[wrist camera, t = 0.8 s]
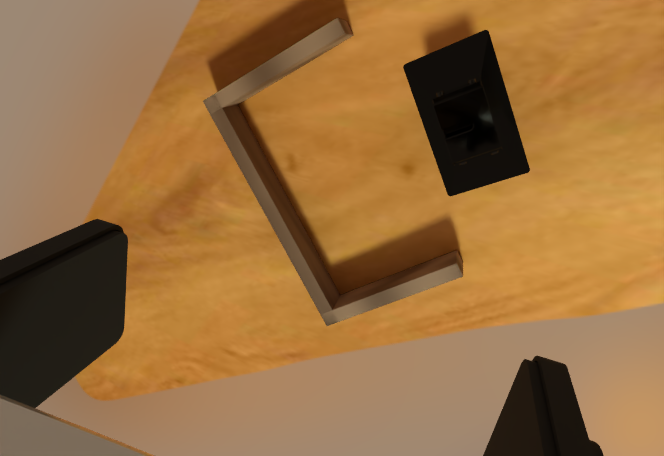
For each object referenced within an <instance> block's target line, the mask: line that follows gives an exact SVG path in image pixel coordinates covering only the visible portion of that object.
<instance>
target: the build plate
mask: <svg viewBox="0 0 664 456" xmlns="http://www.w3.org/2000/svg"><path fill="white" fill-rule="evenodd" d="M403 68H404V71H405V74H406V77H407V79H408V82H409V85H410V88H411V91H412V94H413V97H414V99H415V102H416V105H417V108H418V111H419V114H420V117H421V119H422V122H423V125H424V128H425V131H426V134H427V137H428V139H429V142H430V145H431V148H432V151H433V154H434V157H435V159H436V162H437V165H438V168H439V171H440V174H441V177H442V179H443V182H444V185H445V188H446V191H447V194H448V195H449V196H453V195H457V194H460V193H463V192H466V191H470V190H473V189H476V188H479V187H483V186H486V185H489V184H492V183H496V182H499V181H502V180H505V179H509V178H512V177H515V176H518V175H522V174H525V173H528V172H529V171H530V168H529V165H528V162H527V158H526V155H525V152H524V148H523V145H522V142H521V138H520V135H519V131H518V128H517V125H516V121H515V118H514V115H513V111H512V108H511V105H510V101H509V98H508V95H507V91H506V88H505V85H504V81H503V78H502V75H501V71H500V68H499V65H498V61H497V58H496V55H495V51H494V48H493V44H492V41H491V38H490V34H489V32H488V30H484V31H482V32H479V33H477V34H474V35H472V36H470V37H467V38H465V39H463V40H460V41H458V42H456V43H453V44H451V45H449V46H446V47H444V48H442V49H439V50H437V51H435V52H432V53H430V54H428V55H425V56H423V57H421V58H418V59H416V60H414V61H411V62H409V63H407V64H405V65H404V67H403Z"/></svg>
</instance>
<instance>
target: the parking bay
mask: <svg viewBox="0 0 664 456" xmlns="http://www.w3.org/2000/svg"><path fill="white" fill-rule="evenodd" d="M352 36H354V35H353V33H352V31H351V29H350V27H349V25H348V23H347V21H345V20H343V19H340V18H336V19H334V20H333V21H331V22H330V23H328V24H326V25H325V26H323V27H321V28H320V29H318V30H317V31H315V32H313V33H312V34H310V35H309V36H307V37H305V38H304V39H302V40H301V41H299V42H297V43H296V44H294V45H292V46H291V47H289V48H288V49H286V50H284V51H283V52H281V53H280V54H278V55H276V56H275V57H273V58H272V59H270V60H268V61H267V62H265V63H263V64H262V65H260V66H259V67H257V68H255V69H254V70H252V71H251V72H249V73H247V74H246V75H244V76H243V77H241V78H239V79H238V80H236V81H234V82H233V83H231V84H230V85H228V86H226V87H225V88H223V89H222V90H220V91H218V92H217V93H215V94H214V95H212V96H210V97H209V98H207V99H205V100H204V101H203V102H204V104H205V106H206V108H207V110H208V111H209V113H210V115H211V117H212V119H213V120H214V122H215V124H216V126H217V128H218V130H219V131H220V133H221V135H222V137H223V139H224V140H225V142H226V144H227V146H228V148H229V149H230V151H231V153H232V155H233V157H234V159H235V160H236V162H237V164H238V166H239V168H240V169H241V171H242V173H243V175H244V177H245V178H246V180H247V182H248V184H249V186H250V188H251V189H252V191H253V193H254V195H255V197H256V198H257V200H258V202H259V204H260V206H261V207H262V209H263V211H264V213H265V215H266V216H267V218H268V220H269V222H270V224H271V226H272V227H273V229H274V231H275V233H276V235H277V236H278V238H279V240H280V242H281V244H282V245H283V247H284V249H285V251H286V253H287V255H288V256H289V258H290V260H291V262H292V264H293V265H294V267H295V269H296V271H297V273H298V274H299V276H300V278H301V280H302V282H303V284H304V285H305V287H306V289H307V291H308V293H309V294H310V296H311V298H312V300H313V302H314V303H315V305H316V307H317V309H318V311H319V313H320V314H321V316H322V318H323V320H324V322H325V323H326V325H327V326H329V325H331V324H334V323H337V322H340V321H342V320H345V319H348V318H351V317H353V316H356V315H359V314H362V313H364V312H367V311H370V310H373V309H375V308H378V307H381V306H384V305H386V304H389V303H392V302H394V301H397V300H400V299H403V298H405V297H408V296H411V295H414V294H416V293H419V292H422V291H425V290H427V289H430V288H433V287H436V286H438V285H441V284H444V283H447V282H449V281H452V280H455V279H457V278H460V277H463V261H462V259H461V257H460V255H459V253H458V251H457V250H456V251H453V252H451V253H448V254H445V255H443V256H440V257H438V258H435V259H432V260H430V261H427V262H425V263H422V264H420V265H417V266H414V267H412V268H409V269H407V270H404V271H401V272H399V273H396V274H394V275H391V276H389V277H386V278H383V279H381V280H378V281H376V282H373V283H370V284H368V285H365V286H363V287H360V288H357V289H355V290H352V291H350V292H347V293H345V294H342V295H340V294H339V292H338V290H337V288H336V286H335V284H334V283H333V281H332V279H331V277H330V275H329V273H328V271H327V270H326V268H325V266H324V264H323V262H322V260H321V258H320V257H319V255H318V253H317V251H316V249H315V247H314V245H313V244H312V242H311V240H310V238H309V236H308V234H307V233H306V231H305V229H304V227H303V225H302V223H301V221H300V220H299V218H298V216H297V214H296V212H295V210H294V208H293V207H292V205H291V203H290V201H289V199H288V197H287V195H286V194H285V192H284V190H283V188H282V186H281V184H280V182H279V181H278V179H277V177H276V175H275V173H274V171H273V169H272V168H271V166H270V164H269V162H268V160H267V158H266V156H265V155H264V153H263V151H262V149H261V147H260V145H259V144H258V142H257V140H256V138H255V136H254V134H253V132H252V131H251V129H250V127H249V125H248V123H247V121H246V119H245V118H244V116H243V114H242V112H241V110H240V108H239V106H238V104H240V103H241V102H243V101H245V100H246V99H248V98H250V97H251V96H253V95H255V94H256V93H258V92H260V91H261V90H263V89H265V88H267V87H268V86H270V85H272V84H273V83H275V82H277V81H278V80H280V79H282V78H283V77H285V76H287V75H288V74H290V73H292V72H293V71H295V70H297V69H298V68H300V67H302V66H303V65H305V64H307V63H308V62H310V61H312V60H313V59H315V58H317V57H318V56H320V55H322V54H323V53H325V52H327V51H328V50H330V49H332V48H333V47H335V46H337V45H338V44H340V43H342V42H343V41H345V40H347V39H349V38H350V37H352Z"/></svg>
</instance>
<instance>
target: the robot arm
mask: <svg viewBox="0 0 664 456" xmlns="http://www.w3.org/2000/svg"><path fill="white" fill-rule="evenodd" d="M127 249H128V238H127V235H126V234H124V233H123V229H122V228H121V227H120V226H119V225H115V224H112V223H109V222H106V221H103V220H99V219H95V220H92V221H90V222H87V223H85V224H83V225H80V226H78V227H76V228H74V229H71V230H69V231H67V232H64V233H62V234H60V235H58V236H55V237H53V238H51V239H48V240H46V241H43V242H41V243H39V244H36V245H34V246H32V247H29V248H27V249H25V250H22V251H20V252H18V253H15V254H13V255H11V256H8V257H6V258H4V259H2V260H0V456H154V455H152V454H149V453H147V452H144V451H142V450H139V449H137V448H134V447H132V446H129V445H126V444H124V443H122V442H119V441H117V440H114V439H111V438H109V437H106V436H104V435H101V434H99V433H96V432H94V431H91V430H89V429H86V428H84V427H81V426H79V425H76V424H74V423H71V422H68V421H66V420H63V419H61V418H58V417H55V416H53V415H51V414H48V413H45V412H43V411H40V410H38V409H35V408H36V407H37V406H38V405H40V404H41V403H42V402H43V401H45V400H46V399H47V398H48V397H49V396H51V395H52V394H53V393H55V392H56V391H57V390H58V389H60V388H61V387H62V386H63V385H64V384H66V383H67V382H68V381H69V380H71V379H72V378H73V377H74V376H76V375H77V374H78V373H79V372H81V371H82V370H83V369H84V368H86V367H87V366H88V365H89V364H91V363H92V362H93V361H94V360H96V359H97V358H98V357H99V356H101V355H102V354H103V353H104V352H106V351H107V350H108V349H109V348H111V347H112V346H113V345H114V344H116V343H117V342H118V341H119V339H120V338H121V336H122V334H123V331H124V319H125V296H126V273H127ZM483 456H603V453H602V450H601V448H600V446H599V445H598V444H597V443H596V442H594V441H591V440H589V438H588V434H587V431H586V428H585V424H584V421H583V418H582V415H581V411H580V408H579V405H578V401H577V398H576V395H575V392H574V388H573V385H572V382H571V378H570V375H569V372H568V369H567V366H566V365H565V364H563V363H559V362H556V361H553V360H550V359H547V358H543V357H540V356H535V357H534V359H533V360H532V361H529V360H526V359H525V360H523V362H522V363H521V366H520V368H519V370H518V373H517V375H516V378H515V380H514V382H513V385H512V387H511V390H510V392H509V394H508V397H507V399H506V402H505V404H504V407H503V409H502V411H501V414H500V416H499V419H498V421H497V423H496V426H495V428H494V431H493V433H492V435H491V438H490V441H489V443H488V445H487V448H486V450H485V452H484V455H483Z"/></svg>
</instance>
